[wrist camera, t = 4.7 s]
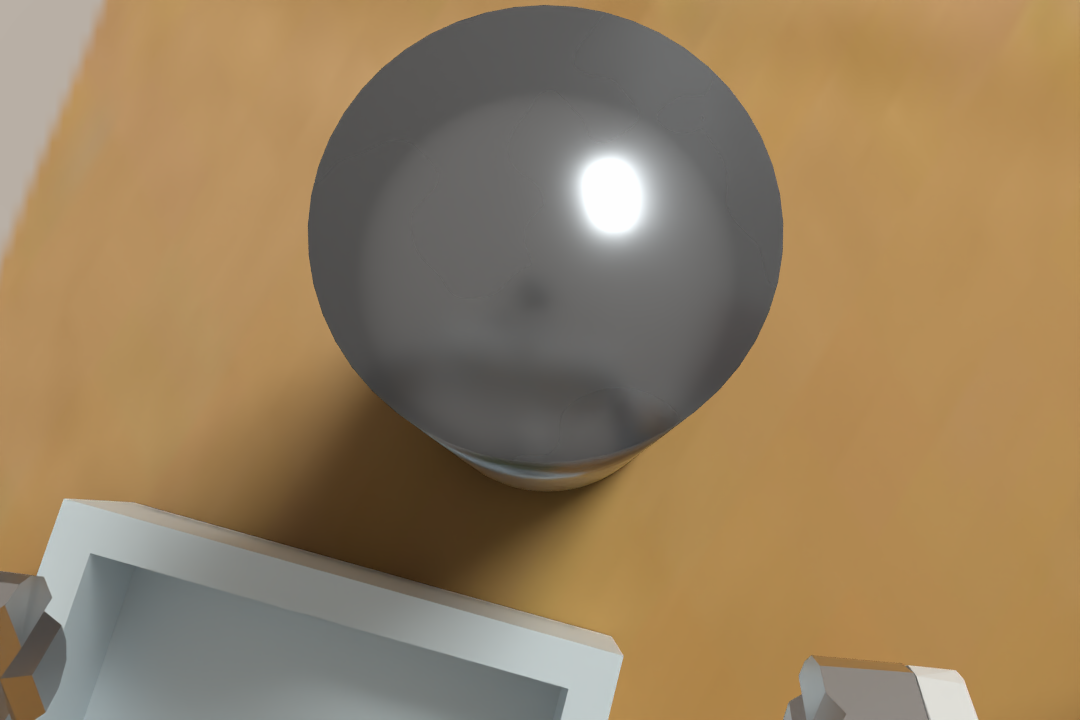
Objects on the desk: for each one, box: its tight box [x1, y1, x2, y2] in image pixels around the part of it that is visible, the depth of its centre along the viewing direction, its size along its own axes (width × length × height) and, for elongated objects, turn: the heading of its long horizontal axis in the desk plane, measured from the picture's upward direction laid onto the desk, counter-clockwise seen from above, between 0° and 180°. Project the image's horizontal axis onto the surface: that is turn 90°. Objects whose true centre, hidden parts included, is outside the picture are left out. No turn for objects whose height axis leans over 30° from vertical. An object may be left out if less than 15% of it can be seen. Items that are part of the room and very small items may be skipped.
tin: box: [308, 5, 783, 492], centre depth 16 cm, size 6×6×10 cm
